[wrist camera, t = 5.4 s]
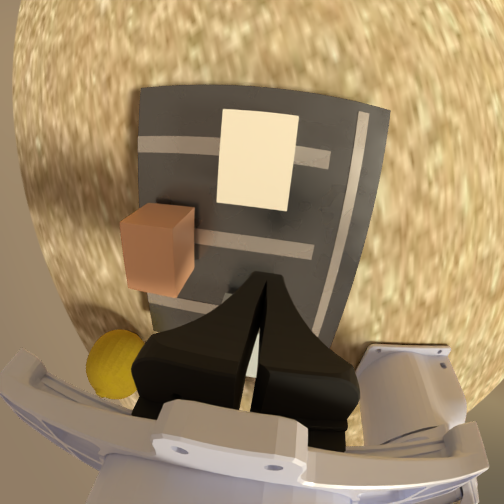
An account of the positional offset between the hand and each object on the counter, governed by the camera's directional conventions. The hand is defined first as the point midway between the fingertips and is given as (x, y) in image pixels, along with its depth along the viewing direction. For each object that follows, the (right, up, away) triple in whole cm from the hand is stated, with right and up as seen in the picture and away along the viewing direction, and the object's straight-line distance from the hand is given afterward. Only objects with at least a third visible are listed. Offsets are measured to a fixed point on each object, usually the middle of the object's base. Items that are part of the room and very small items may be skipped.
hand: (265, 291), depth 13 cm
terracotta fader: (-6, +3, +4) cm, 7 cm away
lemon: (-12, -6, +13) cm, 18 cm away
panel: (-1, +3, +6) cm, 7 cm away
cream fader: (0, +7, +1) cm, 7 cm away
